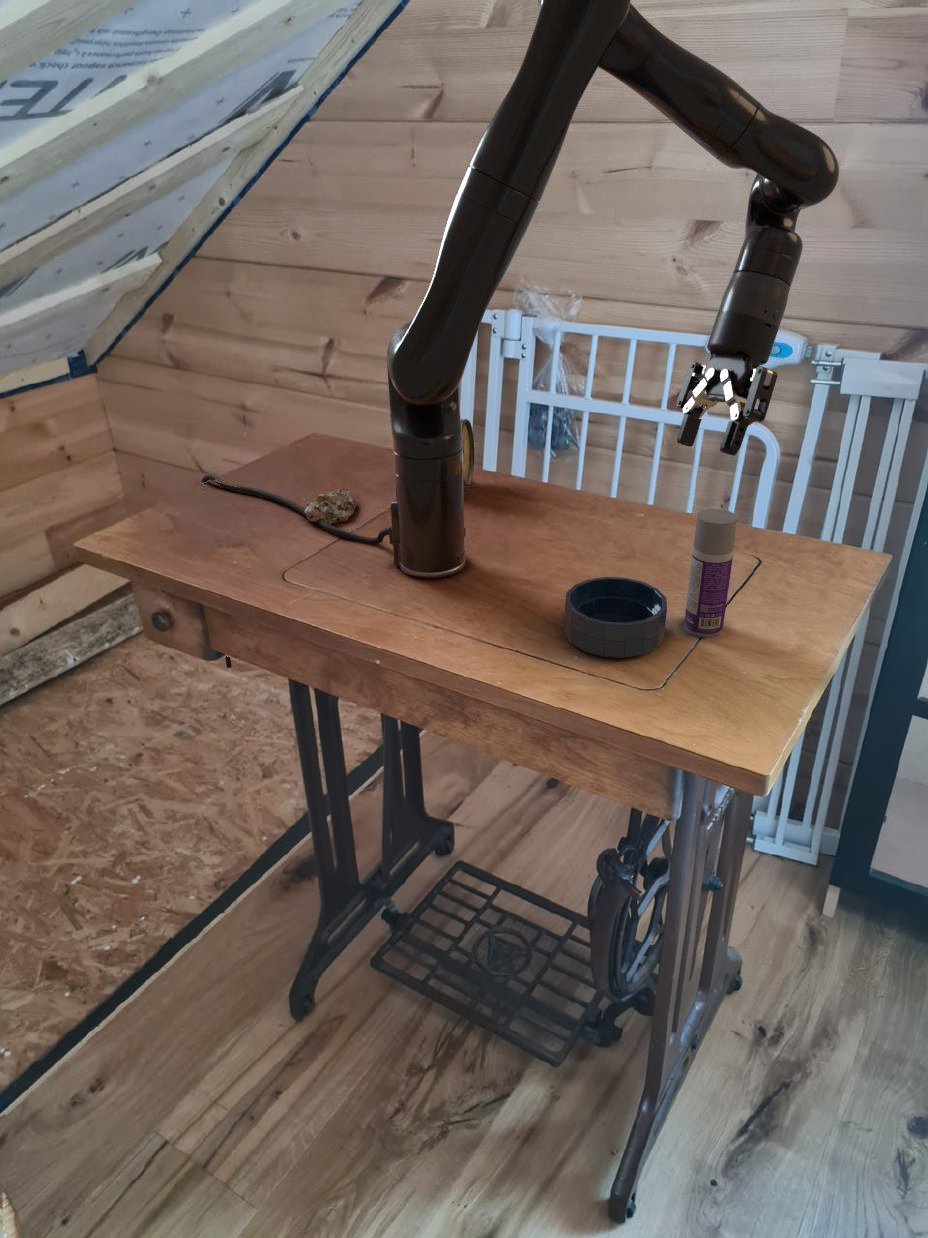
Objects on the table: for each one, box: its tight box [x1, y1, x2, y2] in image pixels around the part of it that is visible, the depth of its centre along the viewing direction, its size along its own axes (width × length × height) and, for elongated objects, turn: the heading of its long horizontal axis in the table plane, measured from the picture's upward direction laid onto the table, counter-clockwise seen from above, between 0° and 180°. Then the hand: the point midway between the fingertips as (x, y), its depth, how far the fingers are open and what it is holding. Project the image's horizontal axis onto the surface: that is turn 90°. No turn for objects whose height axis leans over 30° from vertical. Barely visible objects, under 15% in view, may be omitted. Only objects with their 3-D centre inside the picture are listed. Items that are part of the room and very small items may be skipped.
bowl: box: [563, 576, 668, 659], centre depth 111 cm, size 12×12×5 cm
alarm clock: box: [461, 418, 475, 487], centre depth 151 cm, size 11×5×16 cm, turn 168°
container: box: [683, 508, 738, 638], centre depth 110 cm, size 5×5×15 cm
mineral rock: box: [304, 488, 357, 525], centre depth 146 cm, size 11×4×8 cm
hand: (705, 449), depth 114 cm, fingers open, 8 cm apart
